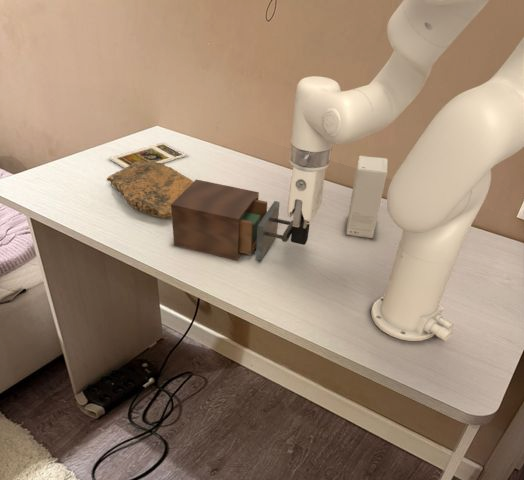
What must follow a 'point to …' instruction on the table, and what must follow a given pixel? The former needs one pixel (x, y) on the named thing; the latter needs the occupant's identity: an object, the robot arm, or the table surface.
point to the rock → (150, 187)
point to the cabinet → (210, 218)
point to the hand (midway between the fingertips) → (298, 241)
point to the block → (255, 220)
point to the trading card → (148, 155)
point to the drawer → (262, 229)
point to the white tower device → (366, 196)
